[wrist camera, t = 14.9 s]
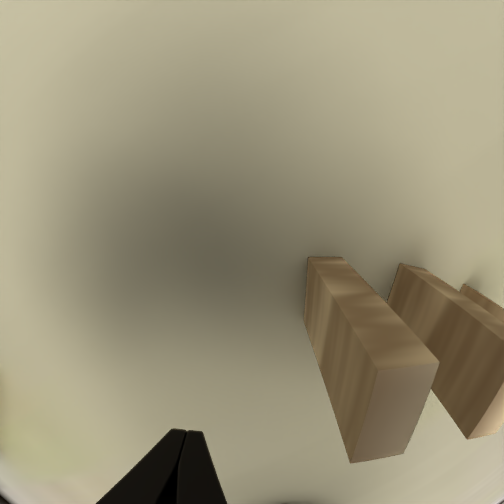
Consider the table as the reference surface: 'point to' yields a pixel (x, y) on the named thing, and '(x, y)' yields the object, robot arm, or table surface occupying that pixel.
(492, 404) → the maple domino
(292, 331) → the table surface
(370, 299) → the maple domino
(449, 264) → the table surface
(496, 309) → the maple domino
